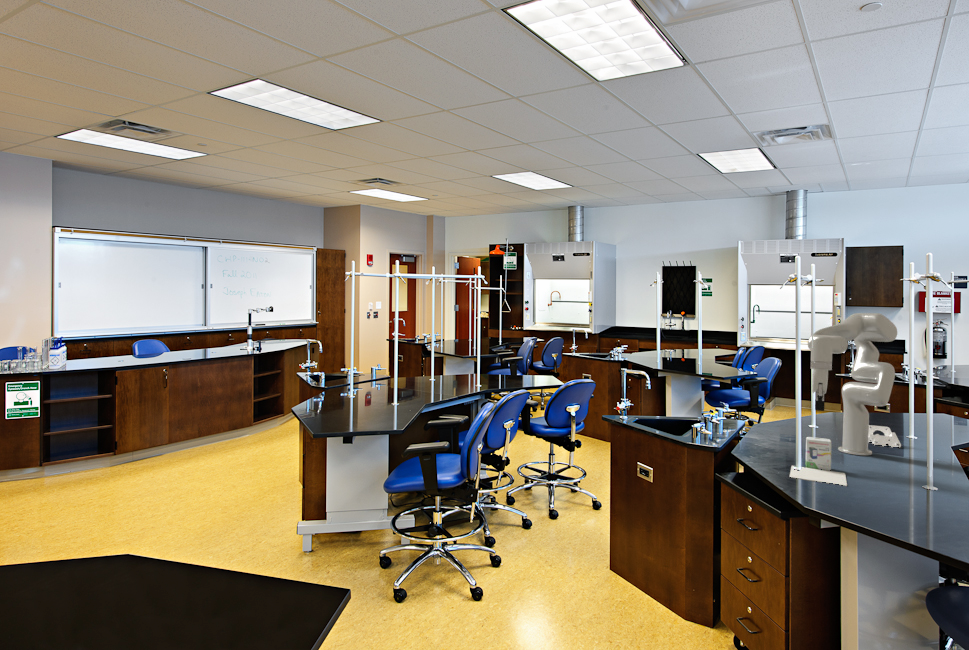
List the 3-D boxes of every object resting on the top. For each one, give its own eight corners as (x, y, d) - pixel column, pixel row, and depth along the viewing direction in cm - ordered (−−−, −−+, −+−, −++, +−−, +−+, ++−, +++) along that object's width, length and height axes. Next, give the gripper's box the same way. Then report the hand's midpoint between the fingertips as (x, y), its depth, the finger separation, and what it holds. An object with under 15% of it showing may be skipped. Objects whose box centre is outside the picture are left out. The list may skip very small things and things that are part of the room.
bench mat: (791, 466, 217) (791, 465, 217) (845, 474, 208) (845, 473, 207) (789, 477, 202) (789, 476, 202) (847, 486, 192) (847, 485, 192)
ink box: (829, 468, 216) (830, 438, 215) (831, 471, 211) (832, 441, 211) (805, 464, 220) (805, 436, 219) (805, 468, 215) (806, 438, 215)
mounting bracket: (898, 450, 254) (897, 428, 258) (901, 447, 249) (900, 424, 253) (868, 447, 260) (867, 425, 264) (870, 444, 255) (869, 422, 259)
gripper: (810, 363, 232) (809, 406, 232) (810, 366, 218) (808, 411, 218) (831, 364, 228) (830, 407, 228) (832, 368, 214) (830, 413, 214)
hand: (819, 409), depth 223 cm, fingers open, 3 cm apart
